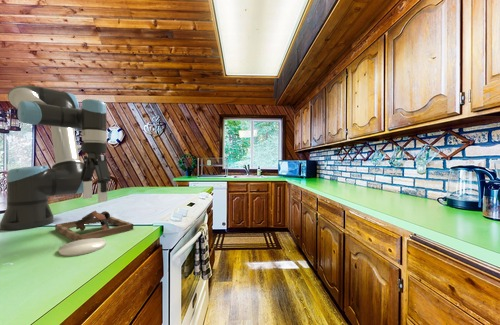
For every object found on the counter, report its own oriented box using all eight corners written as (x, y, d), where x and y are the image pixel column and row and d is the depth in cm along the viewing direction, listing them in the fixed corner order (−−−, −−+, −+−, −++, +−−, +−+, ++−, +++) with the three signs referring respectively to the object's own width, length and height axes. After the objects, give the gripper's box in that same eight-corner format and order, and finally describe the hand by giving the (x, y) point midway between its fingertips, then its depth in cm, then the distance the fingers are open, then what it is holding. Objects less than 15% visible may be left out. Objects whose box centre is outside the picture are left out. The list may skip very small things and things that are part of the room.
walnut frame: (55, 229, 83) (55, 224, 83) (107, 220, 97) (107, 215, 97) (76, 243, 70) (76, 236, 70) (133, 229, 84) (133, 224, 84)
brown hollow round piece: (100, 236, 77) (85, 217, 76) (79, 246, 79) (65, 228, 77) (121, 219, 89) (109, 201, 87) (103, 228, 91) (90, 211, 89)
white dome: (53, 249, 65) (53, 246, 65) (97, 238, 73) (97, 235, 73) (65, 259, 58) (65, 255, 58) (112, 246, 67) (112, 243, 67)
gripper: (70, 143, 87) (70, 198, 87) (96, 139, 73) (97, 204, 73) (92, 145, 94) (93, 196, 93) (121, 141, 79) (121, 201, 79)
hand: (94, 199), depth 83 cm, fingers open, 13 cm apart
